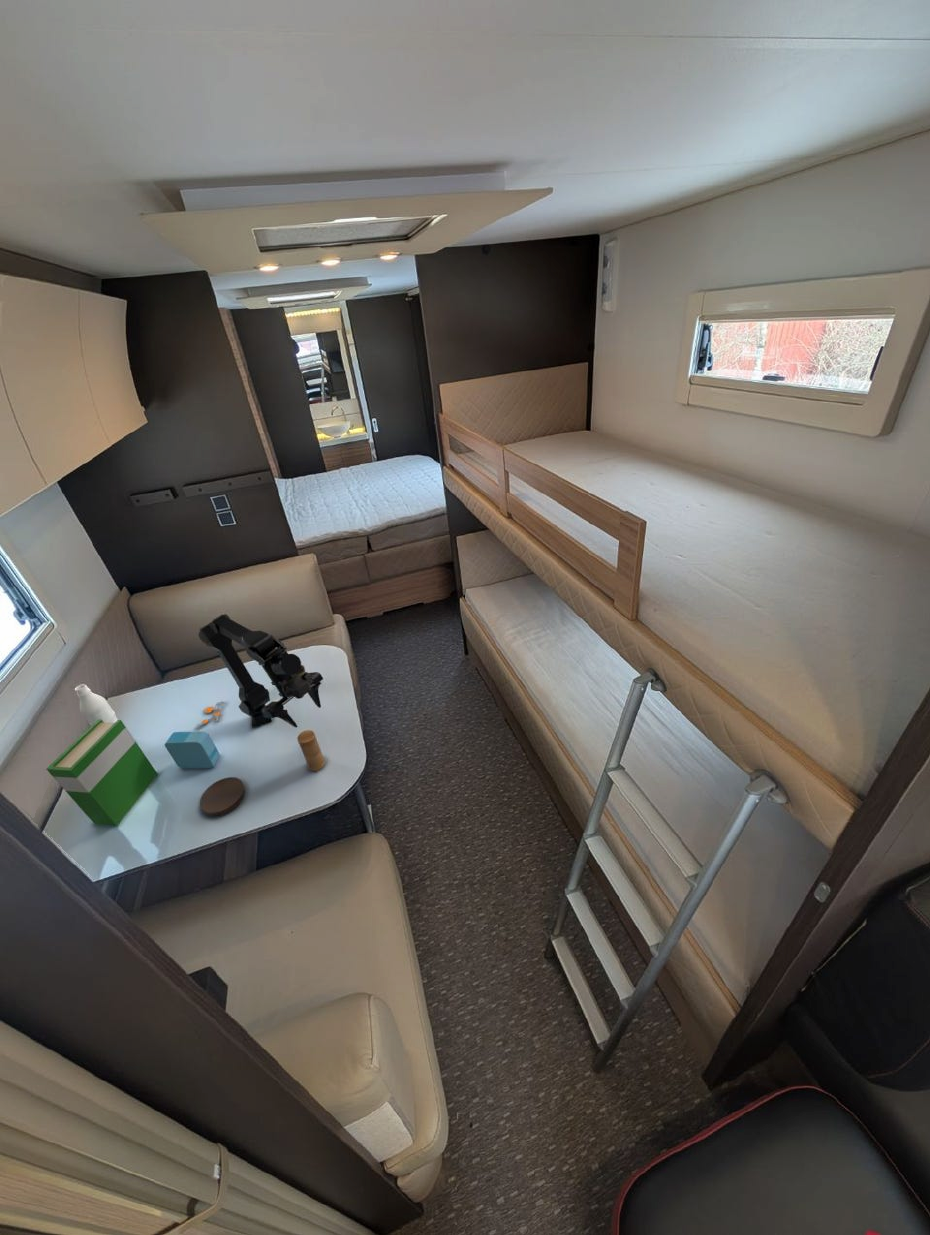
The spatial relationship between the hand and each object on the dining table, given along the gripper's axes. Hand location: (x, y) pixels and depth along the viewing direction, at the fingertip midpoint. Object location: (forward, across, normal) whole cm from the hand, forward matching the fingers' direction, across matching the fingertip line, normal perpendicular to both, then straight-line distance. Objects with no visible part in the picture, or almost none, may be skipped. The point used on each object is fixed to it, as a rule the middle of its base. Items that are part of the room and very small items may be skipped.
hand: (308, 717), depth 142 cm
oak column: (+15, -4, +4) cm, 16 cm away
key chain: (-6, -8, +51) cm, 52 cm away
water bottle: (-13, -32, +68) cm, 76 cm away
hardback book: (-2, -42, +43) cm, 60 cm away
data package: (+1, -22, +36) cm, 42 cm away
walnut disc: (+9, -27, +18) cm, 33 cm away
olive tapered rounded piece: (+1, +18, +36) cm, 40 cm away
